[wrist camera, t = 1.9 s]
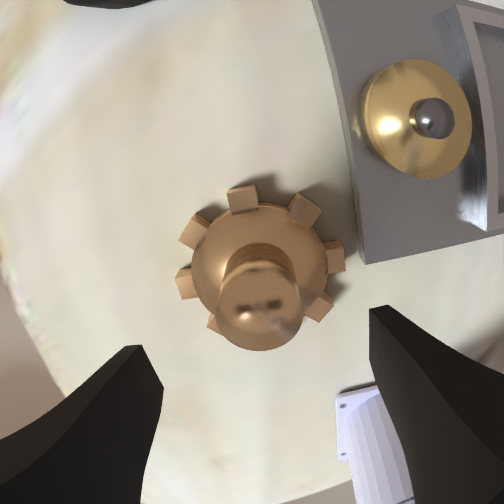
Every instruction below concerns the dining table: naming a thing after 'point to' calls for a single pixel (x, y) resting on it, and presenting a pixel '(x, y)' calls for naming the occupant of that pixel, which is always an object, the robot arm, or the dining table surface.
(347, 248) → the dining table surface
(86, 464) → the robot arm
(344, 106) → the carrier
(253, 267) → the gear
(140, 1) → the caster wheel
